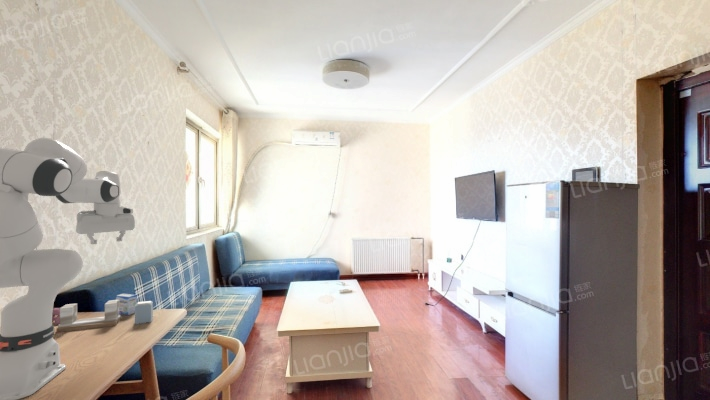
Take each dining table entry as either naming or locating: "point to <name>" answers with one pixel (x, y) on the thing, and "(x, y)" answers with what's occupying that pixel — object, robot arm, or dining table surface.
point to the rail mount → (72, 323)
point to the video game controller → (57, 312)
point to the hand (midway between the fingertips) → (106, 242)
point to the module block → (143, 312)
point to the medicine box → (127, 303)
